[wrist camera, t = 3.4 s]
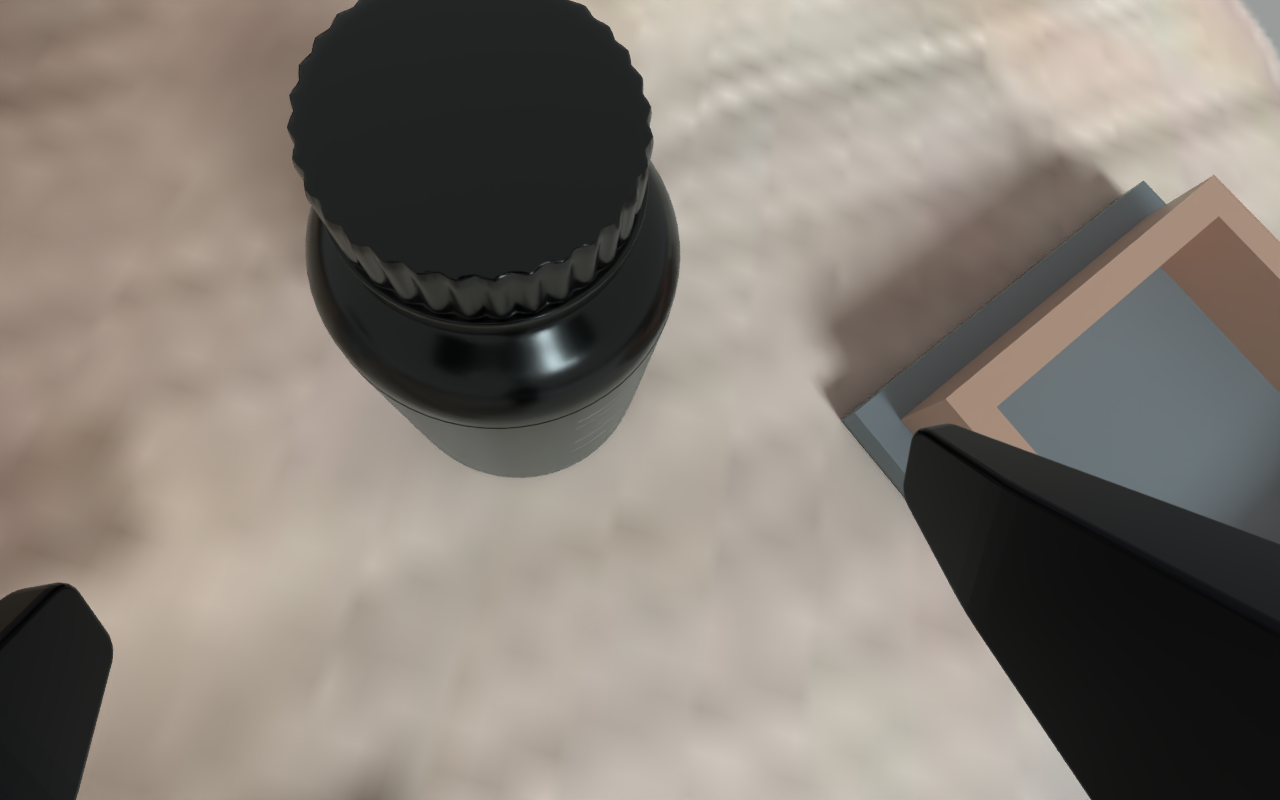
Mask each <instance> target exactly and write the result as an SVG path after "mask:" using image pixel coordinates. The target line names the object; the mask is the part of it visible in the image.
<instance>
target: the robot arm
mask: <svg viewBox="0 0 1280 800" xmlns="http://www.w3.org/2000/svg"><path fill="white" fill-rule="evenodd" d="M903 492H904V497H905V500H906V502H907V505H908V507H909V509H910V511H911V512H912V514H913V516H914V518H915V520H916V522H917V524H918V526H919V527H920V529H921V531H922V533H923V535H924V537H925V539H926V541H927V542H928V544H929V546H930V548H931V550H932V552H933V554H934V556H935V557H936V559H937V561H938V563H939V565H940V567H941V569H942V571H943V572H944V574H945V576H946V578H947V580H948V582H949V584H950V586H951V587H952V589H953V591H954V593H955V595H956V597H957V598H958V600H959V602H960V604H961V605H962V607H963V609H964V611H965V612H966V614H967V615H968V617H969V619H970V620H971V622H972V623H973V625H974V626H975V628H976V630H977V631H978V633H979V634H980V636H981V637H982V639H983V640H984V642H985V643H986V645H987V646H988V647H989V649H990V650H991V652H992V653H993V655H994V656H995V658H996V659H997V661H998V662H999V664H1000V665H1001V667H1002V668H1003V670H1004V671H1005V673H1006V674H1007V676H1008V677H1009V679H1010V680H1011V682H1012V683H1013V685H1014V686H1015V688H1016V689H1017V691H1018V692H1019V694H1020V695H1021V696H1022V698H1023V699H1024V701H1025V702H1026V704H1027V705H1028V707H1029V708H1030V710H1031V711H1032V713H1033V714H1034V716H1035V717H1036V719H1037V720H1038V722H1039V723H1040V725H1041V726H1042V728H1043V729H1044V731H1045V732H1046V734H1047V735H1048V737H1049V738H1050V740H1051V741H1052V743H1053V744H1054V746H1055V747H1056V748H1057V750H1058V751H1059V753H1060V754H1061V756H1062V757H1063V759H1064V760H1065V762H1066V763H1067V765H1068V766H1069V768H1070V769H1071V771H1072V772H1073V774H1074V775H1075V777H1076V778H1077V780H1078V781H1079V783H1080V784H1081V786H1082V787H1083V789H1084V790H1085V792H1086V793H1087V795H1088V796H1089V797H1090V799H1091V800H1280V544H1279V543H1277V542H1274V541H1271V540H1268V539H1266V538H1263V537H1260V536H1258V535H1255V534H1252V533H1249V532H1247V531H1244V530H1241V529H1238V528H1236V527H1233V526H1230V525H1227V524H1225V523H1222V522H1219V521H1217V520H1214V519H1211V518H1208V517H1206V516H1203V515H1200V514H1197V513H1195V512H1192V511H1189V510H1187V509H1184V508H1181V507H1178V506H1176V505H1173V504H1170V503H1167V502H1165V501H1162V500H1159V499H1157V498H1154V497H1151V496H1148V495H1146V494H1143V493H1140V492H1138V491H1135V490H1132V489H1129V488H1127V487H1124V486H1121V485H1118V484H1116V483H1113V482H1110V481H1108V480H1105V479H1102V478H1099V477H1097V476H1094V475H1091V474H1088V473H1086V472H1083V471H1080V470H1078V469H1075V468H1072V467H1069V466H1067V465H1064V464H1061V463H1059V462H1056V461H1053V460H1050V459H1048V458H1045V457H1042V456H1039V455H1037V454H1034V453H1031V452H1029V451H1026V450H1023V449H1020V448H1018V447H1015V446H1012V445H1009V444H1007V443H1004V442H1001V441H999V440H996V439H993V438H990V437H988V436H985V435H982V434H980V433H977V432H974V431H971V430H969V429H966V428H963V427H960V426H958V425H955V424H940V425H935V426H929V427H923V428H920V429H919V430H917V431H916V432H915V433H914V435H913V436H912V439H911V444H910V449H909V454H908V460H907V465H906V470H905V476H904V481H903ZM112 659H113V646H112V642H111V639H110V636H109V634H108V632H107V631H106V630H105V628H104V627H103V625H102V624H101V623H100V621H99V620H98V618H97V617H96V615H95V614H94V613H93V611H92V610H91V608H90V607H89V605H88V604H87V603H86V601H85V600H84V598H83V597H82V595H81V594H80V593H79V591H78V590H77V589H76V588H75V587H73V586H71V585H70V584H67V583H52V584H47V585H41V586H35V587H30V588H24V589H20V590H17V591H15V592H12V593H10V594H9V595H7V596H6V597H4V598H3V599H1V600H0V800H76V797H77V794H78V791H79V787H80V783H81V780H82V776H83V772H84V768H85V764H86V760H87V757H88V753H89V749H90V745H91V741H92V737H93V734H94V730H95V726H96V722H97V718H98V714H99V710H100V707H101V703H102V699H103V695H104V691H105V687H106V684H107V680H108V676H109V672H110V668H111V664H112Z"/></svg>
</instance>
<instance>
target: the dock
mask: <svg viewBox="0 0 1280 800" xmlns="http://www.w3.org/2000/svg"><path fill="white" fill-rule="evenodd" d="M842 422H843V423H844V424H845V425H846V426H847V428H848V429H849V430H850V431H851V433H852V434H853V435H854V436H855V437H856V439H857V440H858V441H859V442H860V443H861V445H862V446H863V447H864V448H865V450H866V451H867V452H868V453H869V454H870V456H871V457H872V458H873V459H874V461H875V462H876V463H877V464H878V465H879V467H880V468H881V469H882V470H883V472H884V473H885V474H886V475H887V476H888V478H889V479H890V480H891V481H892V482H893V484H894V485H895V486H896V487H897V489H898V490H899V491H900V492H901V493H902V495H903V496H904V492H903V481H904V476H905V470H906V465H907V460H908V454H909V449H910V444H911V439H912V436H913V435H914V433H915V432H916V431H917V430H919V429H920V428H923V427H929V426H935V425H940V424H955V425H958V426H960V427H963V428H966V429H969V430H971V431H974V432H977V433H980V434H982V435H985V436H988V437H990V438H993V439H996V440H999V441H1001V442H1004V443H1007V444H1009V445H1012V446H1015V447H1018V448H1020V449H1023V450H1026V451H1029V452H1031V453H1034V454H1037V455H1039V456H1042V457H1045V458H1048V459H1050V460H1053V461H1056V462H1059V463H1061V464H1064V465H1067V466H1069V467H1072V468H1075V469H1078V470H1080V471H1083V472H1086V473H1088V474H1091V475H1094V476H1097V477H1099V478H1102V479H1105V480H1108V481H1110V482H1113V483H1116V484H1118V485H1121V486H1124V487H1127V488H1129V489H1132V490H1135V491H1138V492H1140V493H1143V494H1146V495H1148V496H1151V497H1154V498H1157V499H1159V500H1162V501H1165V502H1167V503H1170V504H1173V505H1176V506H1178V507H1181V508H1184V509H1187V510H1189V511H1192V512H1195V513H1197V514H1200V515H1203V516H1206V517H1208V518H1211V519H1214V520H1217V521H1219V522H1222V523H1225V524H1227V525H1230V526H1233V527H1236V528H1238V529H1241V530H1244V531H1247V532H1249V533H1252V534H1255V535H1258V536H1260V537H1263V538H1266V539H1268V540H1271V541H1274V542H1277V543H1279V544H1280V242H1279V241H1278V240H1277V239H1276V238H1275V237H1274V236H1273V235H1272V234H1271V233H1270V232H1269V231H1268V229H1267V228H1266V227H1265V226H1264V225H1263V224H1262V223H1261V222H1260V221H1259V220H1258V219H1257V218H1256V217H1255V216H1254V215H1253V214H1252V213H1251V212H1250V211H1249V210H1248V209H1247V208H1246V207H1245V206H1244V205H1243V204H1242V203H1241V202H1240V201H1239V200H1238V199H1237V198H1236V197H1235V196H1234V195H1233V194H1232V193H1231V192H1230V191H1229V190H1228V189H1227V188H1226V186H1225V185H1224V184H1223V183H1222V182H1221V181H1220V180H1219V179H1218V178H1217V177H1216V176H1215V175H1213V176H1212V177H1210V178H1209V179H1207V180H1205V181H1204V182H1202V183H1200V184H1199V185H1197V186H1196V187H1194V188H1192V189H1191V190H1189V191H1187V192H1186V193H1184V194H1183V195H1181V196H1179V197H1178V198H1176V199H1175V200H1173V201H1171V202H1170V203H1168V204H1165V202H1164V201H1163V200H1162V199H1161V198H1160V197H1159V196H1158V195H1157V194H1156V193H1155V192H1154V191H1153V190H1152V189H1151V188H1150V187H1149V186H1148V185H1147V184H1146V183H1145V182H1144V181H1142V182H1141V183H1139V184H1138V185H1136V186H1135V187H1134V188H1132V189H1131V190H1129V191H1128V192H1126V193H1125V194H1123V195H1122V196H1120V197H1119V198H1118V199H1117V200H1115V201H1114V202H1113V203H1112V204H1110V205H1109V206H1108V207H1107V208H1105V209H1104V210H1103V211H1102V212H1100V213H1099V214H1098V215H1097V216H1095V217H1094V218H1093V219H1092V220H1090V221H1089V222H1088V223H1087V224H1085V225H1084V226H1083V227H1082V228H1080V229H1079V230H1078V231H1077V232H1075V233H1074V234H1073V235H1072V236H1071V237H1069V238H1068V239H1067V240H1066V241H1064V242H1063V243H1062V244H1061V245H1059V246H1058V247H1057V248H1056V249H1054V250H1053V251H1052V252H1051V253H1049V254H1048V255H1047V256H1046V257H1044V258H1043V259H1042V260H1041V261H1039V262H1038V263H1037V264H1036V265H1034V266H1033V267H1032V268H1031V269H1029V270H1028V271H1027V272H1026V273H1024V274H1023V275H1022V276H1021V277H1019V278H1018V279H1017V280H1016V281H1014V282H1013V283H1012V284H1011V285H1009V286H1008V287H1007V288H1006V289H1004V290H1003V291H1002V292H1001V293H999V294H998V295H997V296H996V297H994V298H993V299H992V300H991V301H989V302H988V303H987V304H986V305H984V306H983V307H982V308H981V309H979V310H978V311H977V312H976V313H974V314H973V315H972V316H971V317H969V318H968V319H967V320H966V321H964V322H963V323H962V324H961V325H959V326H958V327H957V328H956V329H954V330H953V331H952V332H951V333H949V334H948V335H947V336H946V337H944V338H943V339H942V340H941V341H939V342H938V343H937V344H936V345H934V346H933V347H932V348H931V349H929V350H928V351H927V352H926V353H925V354H923V355H922V356H921V357H920V358H918V359H917V360H916V361H915V362H913V363H912V364H911V365H910V366H908V367H907V368H906V369H905V370H903V371H902V372H901V373H900V374H898V375H897V376H896V377H895V378H893V379H892V380H891V381H890V382H888V383H887V384H886V385H885V386H883V387H882V388H881V389H880V390H878V391H877V392H876V393H875V394H873V395H872V396H871V397H870V398H868V399H867V400H866V401H865V402H863V403H862V404H861V405H860V406H858V407H857V408H856V409H855V410H853V411H852V412H851V413H850V414H848V415H847V416H846V417H845V418H843V419H842Z"/></svg>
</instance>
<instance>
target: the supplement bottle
mask: <svg viewBox="0 0 1280 800" xmlns="http://www.w3.org/2000/svg"><path fill="white" fill-rule="evenodd" d="M289 96H290V101H291V105H292V108H293V112H292V115H291V117H290V119H289V122H288V126H287V129H288V133H289V135H290V137H291V139H292V141H293V143H294V149H293V156H292V160H293V164H294V167H295V169H296V170H297V172H298V174H299V175H300V177H301V178H302V180H303V181H304V188H305V193H306V197H307V199H308V201H309V202H310V204H311V209H310V214H309V218H308V225H307V233H306V265H307V274H308V278H309V283H310V288H311V292H312V296H313V298H314V301H315V304H316V307H317V310H318V312H319V315H320V317H321V319H322V321H323V323H324V325H325V327H326V329H327V330H328V332H329V334H330V335H331V337H332V339H333V340H334V342H335V343H336V345H337V346H338V347H339V349H340V350H341V351H342V352H343V354H344V355H345V356H346V358H347V359H348V360H349V362H350V363H351V364H352V365H353V366H354V367H355V368H356V369H357V370H358V372H359V373H360V374H361V375H362V376H363V377H364V378H365V379H366V380H367V381H368V382H369V383H370V384H371V385H372V386H373V387H374V388H375V389H376V390H377V391H379V392H380V393H381V394H382V395H383V396H384V397H385V398H386V399H387V400H388V401H389V402H390V403H391V404H392V405H393V406H394V407H395V408H396V409H397V410H398V411H399V412H400V413H402V414H403V415H404V416H405V417H406V418H407V419H408V420H409V421H410V422H411V423H412V424H413V425H414V426H415V427H416V428H417V429H418V430H419V431H420V432H421V433H422V434H424V435H425V436H426V437H427V438H428V439H429V440H430V441H431V442H432V443H433V444H435V445H436V446H437V447H438V448H439V449H441V450H442V451H443V452H444V453H446V454H447V455H449V456H450V457H451V458H453V459H454V460H456V461H458V462H460V463H462V464H463V465H465V466H468V467H470V468H473V469H475V470H478V471H481V472H484V473H487V474H491V475H496V476H502V477H511V478H525V477H536V476H541V475H547V474H550V473H554V472H557V471H560V470H562V469H565V468H568V467H570V466H572V465H574V464H576V463H578V462H579V461H581V460H583V459H584V458H586V457H587V456H589V455H590V454H591V453H593V452H594V451H595V450H596V449H598V448H599V447H600V446H601V445H602V444H603V443H604V442H605V441H606V440H607V439H608V438H609V437H610V435H611V434H612V433H613V432H614V431H615V429H616V428H617V426H618V425H619V423H620V422H621V420H622V418H623V417H624V415H625V413H626V411H627V409H628V408H629V406H630V403H631V401H632V399H633V397H634V394H635V392H636V390H637V388H638V385H639V383H640V381H641V379H642V376H643V374H644V372H645V369H646V367H647V365H648V363H649V360H650V358H651V356H652V354H653V351H654V349H655V347H656V345H657V342H658V340H659V338H660V335H661V333H662V331H663V328H664V326H665V324H666V321H667V319H668V316H669V313H670V310H671V307H672V303H673V300H674V297H675V293H676V288H677V283H678V277H679V268H680V241H679V233H678V225H677V221H676V217H675V212H674V209H673V206H672V203H671V200H670V197H669V194H668V192H667V190H666V187H665V185H664V183H663V181H662V179H661V177H660V175H659V173H658V172H657V170H656V168H655V166H654V165H653V163H652V162H651V160H650V159H651V154H652V149H653V135H652V132H651V129H650V127H649V126H650V121H651V114H652V112H651V106H650V104H649V102H648V100H647V99H646V98H645V97H644V95H643V78H642V77H641V75H640V74H639V73H638V72H637V70H636V69H635V68H634V67H633V66H632V65H631V59H630V55H629V51H628V50H627V49H626V48H625V47H624V46H622V45H621V44H619V43H618V42H617V41H616V40H615V38H614V36H613V33H612V31H611V29H610V27H609V26H608V25H606V24H604V23H603V22H600V21H598V20H596V19H595V18H594V17H593V16H592V15H591V13H590V11H589V10H588V9H587V8H586V6H584V5H582V4H579V3H576V2H573V1H570V0H359V1H358V2H357V3H356V5H355V6H354V7H353V8H351V9H348V10H345V11H343V12H341V13H339V14H337V15H336V17H335V19H334V21H333V23H332V25H331V27H330V28H329V29H328V30H326V31H325V32H323V33H321V34H320V35H318V36H317V37H316V38H315V40H314V43H313V48H312V53H311V54H309V55H308V56H307V57H306V58H305V59H304V60H303V61H302V62H301V63H300V64H299V81H298V83H297V85H296V86H295V87H294V88H293V90H292V92H291V93H290V95H289Z"/></svg>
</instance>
